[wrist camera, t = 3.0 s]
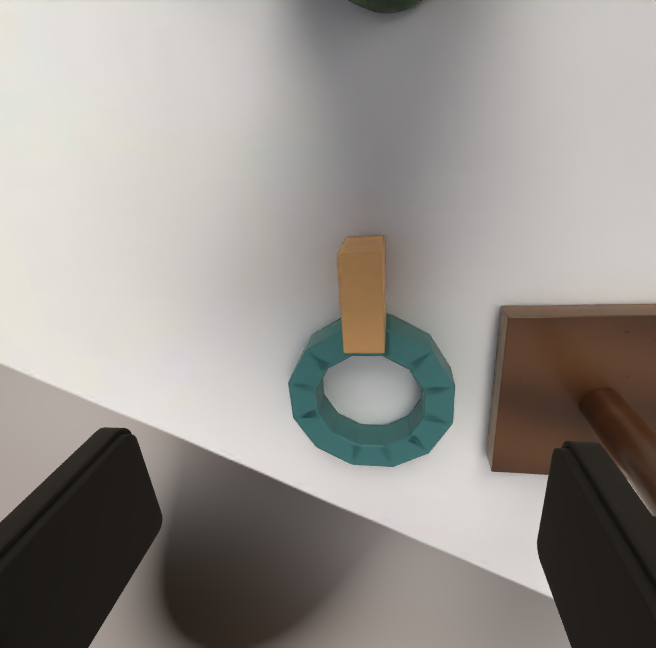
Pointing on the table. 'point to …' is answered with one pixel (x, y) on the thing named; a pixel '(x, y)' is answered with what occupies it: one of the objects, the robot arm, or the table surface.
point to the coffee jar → (386, 5)
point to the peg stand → (576, 388)
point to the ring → (371, 340)
